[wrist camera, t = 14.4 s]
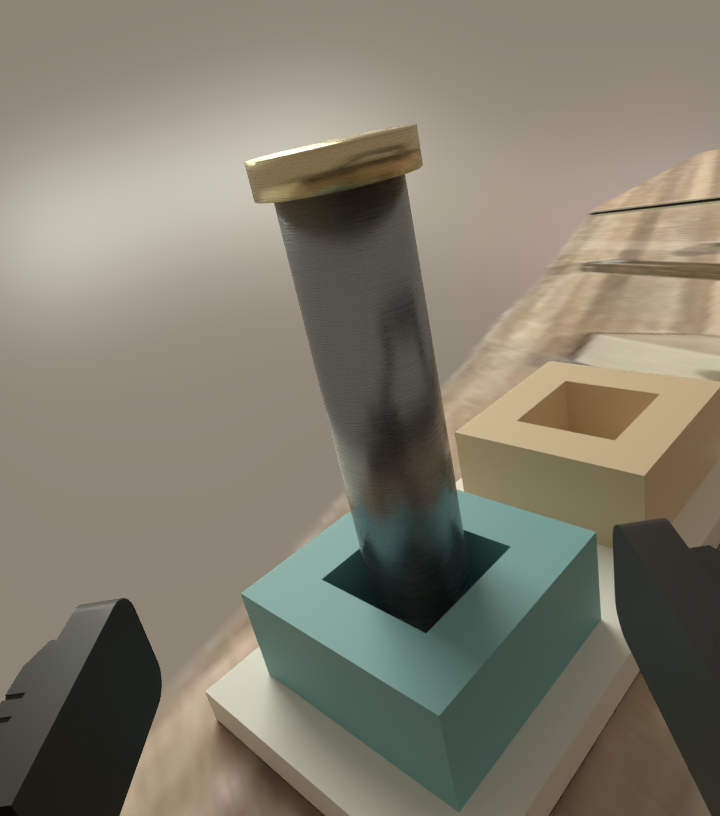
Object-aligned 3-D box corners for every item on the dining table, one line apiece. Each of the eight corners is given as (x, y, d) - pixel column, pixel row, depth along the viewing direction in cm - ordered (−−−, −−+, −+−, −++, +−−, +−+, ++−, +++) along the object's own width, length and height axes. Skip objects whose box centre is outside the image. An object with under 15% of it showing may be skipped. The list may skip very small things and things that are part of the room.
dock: (542, 433, 40) (534, 351, 38) (760, 478, 32) (767, 377, 30) (216, 718, 25) (171, 611, 23) (468, 943, 17) (437, 810, 15)
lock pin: (424, 589, 27) (332, 138, 20) (519, 633, 24) (452, 116, 17) (349, 661, 25) (210, 169, 17) (445, 721, 21) (326, 149, 14)
